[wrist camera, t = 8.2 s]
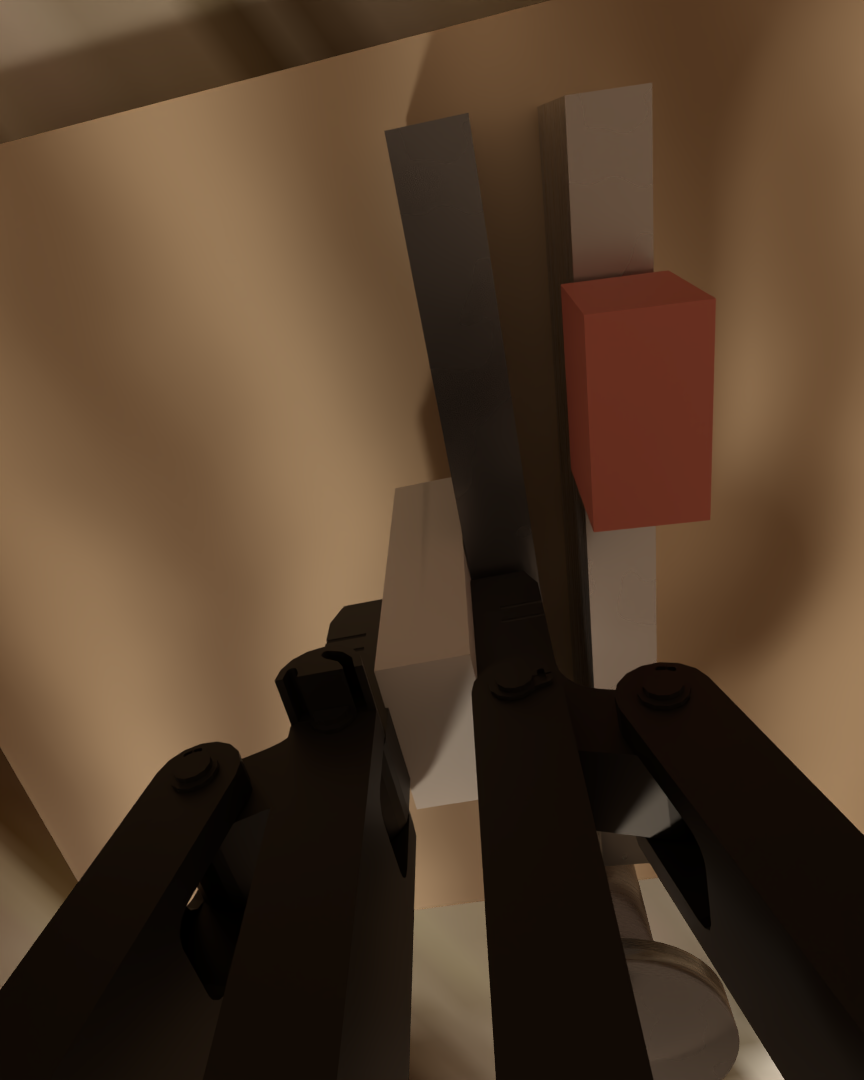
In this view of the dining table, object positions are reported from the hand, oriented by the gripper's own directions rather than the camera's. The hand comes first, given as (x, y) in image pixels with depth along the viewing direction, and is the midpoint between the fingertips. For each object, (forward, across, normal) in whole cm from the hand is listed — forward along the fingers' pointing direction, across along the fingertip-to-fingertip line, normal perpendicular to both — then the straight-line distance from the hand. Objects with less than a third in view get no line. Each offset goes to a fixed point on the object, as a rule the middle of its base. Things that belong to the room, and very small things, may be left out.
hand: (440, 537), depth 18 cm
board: (+2, 0, -2) cm, 3 cm away
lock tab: (-3, +4, +4) cm, 6 cm away
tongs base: (+1, +3, -1) cm, 3 cm away
